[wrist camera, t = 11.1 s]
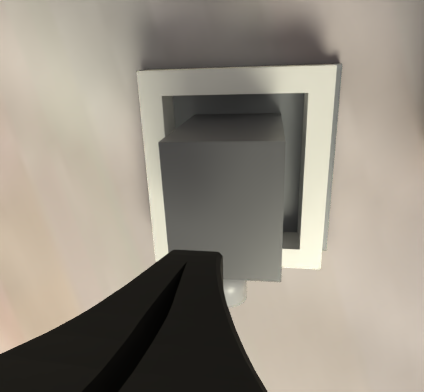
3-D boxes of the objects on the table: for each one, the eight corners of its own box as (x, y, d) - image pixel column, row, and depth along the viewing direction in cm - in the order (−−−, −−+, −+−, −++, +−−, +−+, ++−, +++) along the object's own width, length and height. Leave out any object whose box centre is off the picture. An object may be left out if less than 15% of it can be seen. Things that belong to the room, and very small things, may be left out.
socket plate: (340, 63, 16) (350, 64, 14) (324, 246, 19) (331, 269, 17) (142, 69, 17) (124, 71, 15) (158, 239, 21) (145, 260, 18)
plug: (280, 113, 17) (285, 141, 11) (277, 242, 19) (279, 319, 13) (194, 114, 17) (158, 142, 12) (201, 239, 20) (173, 312, 14)
